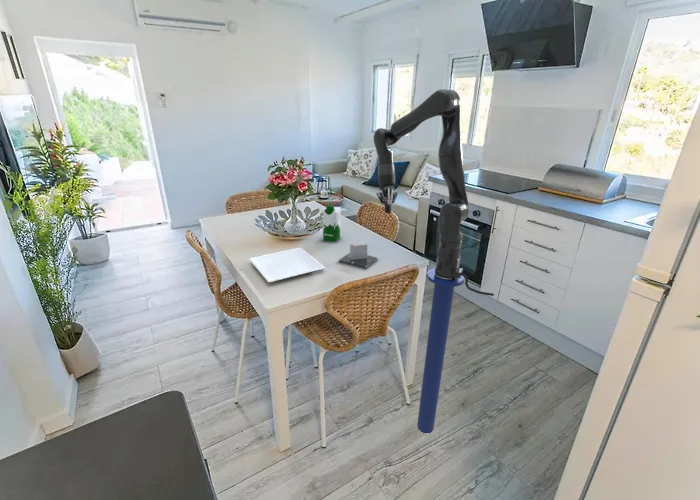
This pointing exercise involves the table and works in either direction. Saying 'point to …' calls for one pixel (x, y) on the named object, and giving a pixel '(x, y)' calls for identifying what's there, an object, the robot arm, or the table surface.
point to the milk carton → (331, 223)
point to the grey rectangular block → (358, 251)
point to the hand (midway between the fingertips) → (388, 213)
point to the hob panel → (358, 261)
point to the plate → (285, 264)
